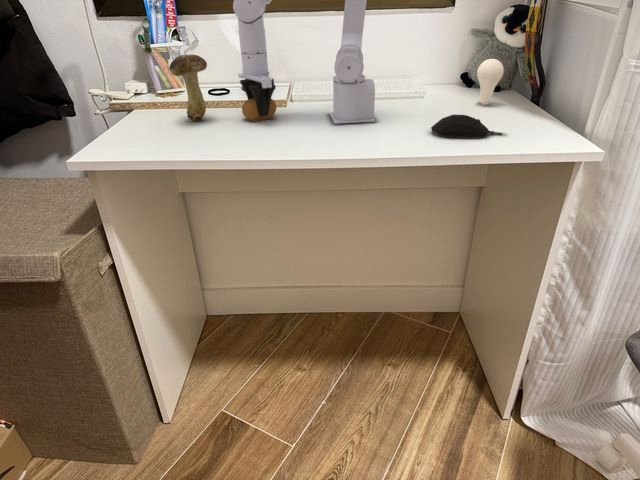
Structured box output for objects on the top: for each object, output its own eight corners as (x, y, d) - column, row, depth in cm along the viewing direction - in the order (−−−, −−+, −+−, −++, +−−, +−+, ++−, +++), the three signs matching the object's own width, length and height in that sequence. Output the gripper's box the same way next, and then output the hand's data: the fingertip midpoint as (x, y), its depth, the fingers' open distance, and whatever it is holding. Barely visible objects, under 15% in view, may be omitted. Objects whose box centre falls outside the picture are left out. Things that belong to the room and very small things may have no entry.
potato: (272, 113, 109) (271, 93, 107) (280, 118, 106) (278, 97, 103) (240, 118, 106) (238, 97, 104) (246, 123, 103) (244, 102, 100)
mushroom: (206, 127, 101) (195, 58, 93) (171, 125, 103) (157, 57, 94) (222, 115, 109) (212, 50, 101) (189, 114, 110) (178, 49, 102)
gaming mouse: (505, 139, 91) (509, 120, 88) (432, 138, 92) (434, 119, 90) (498, 129, 96) (502, 111, 94) (429, 128, 97) (431, 110, 95)
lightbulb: (500, 108, 109) (509, 61, 103) (475, 108, 109) (483, 61, 103) (492, 101, 114) (501, 56, 108) (468, 101, 114) (476, 56, 108)
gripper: (227, 49, 102) (234, 107, 109) (247, 59, 91) (253, 123, 98) (255, 46, 105) (261, 103, 112) (278, 55, 94) (282, 118, 101)
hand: (259, 112), depth 105 cm, fingers closed on potato, 5 cm apart
